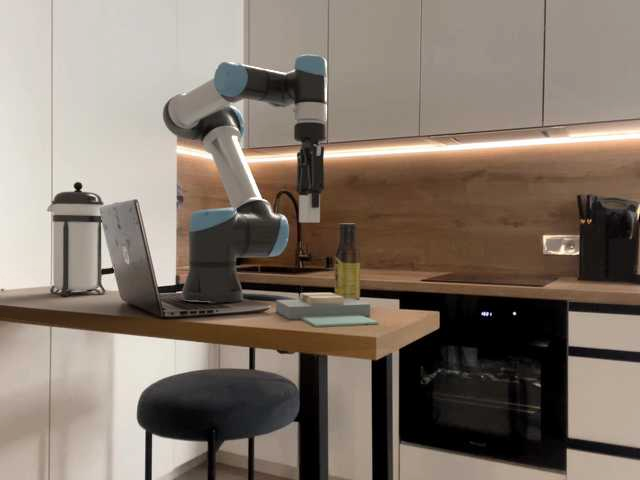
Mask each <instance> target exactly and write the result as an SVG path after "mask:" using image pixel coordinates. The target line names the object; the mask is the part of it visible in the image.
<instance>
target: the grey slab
mask: <svg viewBox="0 0 640 480" xmlns="http://www.w3.org/2000/svg"><path fill="white" fill-rule="evenodd" d="M275 312H276V313H278V314H280V315H282V316H283V317H285V318H286V319H288V320H297V319H298V320H299V319H301V317H305V316H331V315H358V314H359V315H362V316H364V317H370V316H371V303H368V302H365V301H362V300H360V299H359V300H356V299H353V298H344V304H331V305H311V304H309V303H307V302H304V301H302V300H300V298H299V299H276V300H275ZM301 320H302V319H301Z"/></svg>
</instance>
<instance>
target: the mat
mask: <svg viewBox="0 0 640 480" xmlns="http://www.w3.org/2000/svg"><path fill="white" fill-rule="evenodd" d="M301 320H303V321H305V322H306V323H308V324H310V325H311V326H313V327H315V328H317V327H318V328H319V327H320V328H321V327H339V326H340V327H342V326H361V325H362V326H363V325H365V324H368V325H379V321H378V320H374V319H372V318H369V317H368V316H362V315H359V314H358V315H331V316H305V317H301Z"/></svg>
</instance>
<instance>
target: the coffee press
mask: <svg viewBox="0 0 640 480" xmlns="http://www.w3.org/2000/svg"><path fill="white" fill-rule="evenodd" d="M83 186H84V185H83V184H82V182H79V181H76V182H74V184H73V188H74V189H75V190H74V191H72V190H71V191H61V192H58V193H57V194H55V196H54V198H53V200H51V204H50V205H49V206H48V207H47V209H46V212H52V213H53V214H52V222H53V230H52V231H53V250H52V251H53V255H52V256H53V257H52V259H53V261H52V263H53V265H52V266H53V271H52V272H53V276H52V277H53V285H52V287H51V288H50V291H49V292H50V293H51V294H57V293H58V292H60V296H61V297H62V298H64V297H69V296H70V294H71V292H75V291H76V292H77V291H87V292H93V291H95V292H96V293H97V294H98V295H104V294H105V293H106V289H105V288H104V286H103V285H102V282H103V281H102V279H103V278H102V276H105V275H112V274H115V273H114V269H113V267H114V266H112V267H109V268H108V267H107V268H102V267H103V266H102V265H103V252H102V251H103V222H102V220H101V215H100V210H99V208H100V207H102V208H103V206H104V204H105V203H104V201H103V200H102V198H101V196H100V195H99V194H97V193H94V192H89V191H82V189H83ZM99 288H100V290H102V292H100V290H99ZM55 289H56V290H55ZM54 290H55V291H54Z"/></svg>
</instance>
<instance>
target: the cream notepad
mask: <svg viewBox="0 0 640 480" xmlns="http://www.w3.org/2000/svg"><path fill="white" fill-rule="evenodd" d="M299 299H300V300H302V301H304V302H307V303H309V304H311V305H331V304H344V297H342V296H339V295H336V294H335V293H334V292H330V291H329V292H301V293H300V298H299Z"/></svg>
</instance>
